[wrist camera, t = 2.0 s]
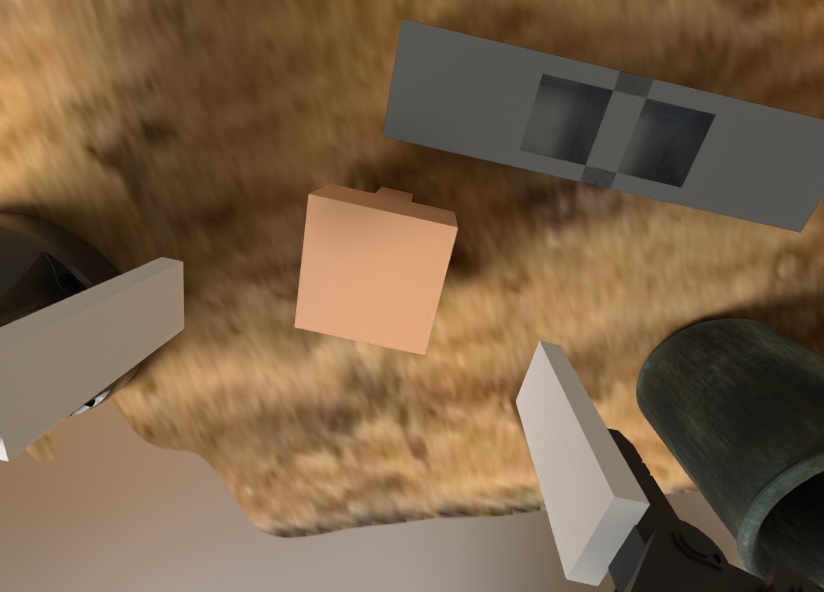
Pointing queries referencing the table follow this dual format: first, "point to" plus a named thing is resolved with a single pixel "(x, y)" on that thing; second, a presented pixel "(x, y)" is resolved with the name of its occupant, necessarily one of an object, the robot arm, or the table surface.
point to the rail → (604, 127)
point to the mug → (746, 435)
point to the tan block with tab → (373, 266)
